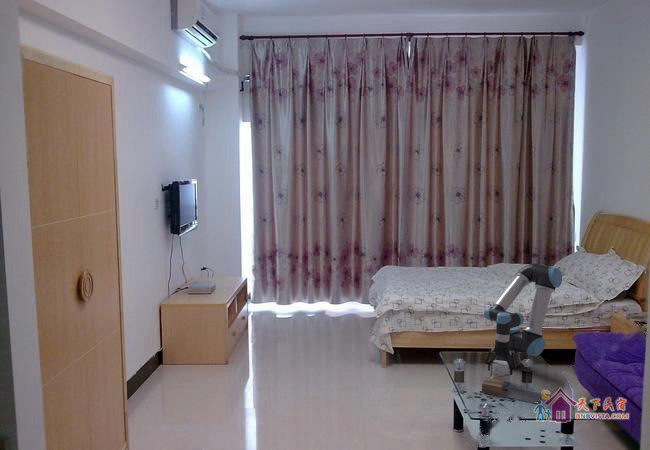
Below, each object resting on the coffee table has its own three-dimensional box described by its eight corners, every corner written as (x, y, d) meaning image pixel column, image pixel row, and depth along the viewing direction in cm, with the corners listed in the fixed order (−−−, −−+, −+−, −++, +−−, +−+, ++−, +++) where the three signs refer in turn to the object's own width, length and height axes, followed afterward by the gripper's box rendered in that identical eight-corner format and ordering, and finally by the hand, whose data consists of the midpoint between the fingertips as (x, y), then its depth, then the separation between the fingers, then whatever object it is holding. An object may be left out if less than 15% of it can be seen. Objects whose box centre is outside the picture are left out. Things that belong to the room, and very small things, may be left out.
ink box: (507, 386, 323) (509, 366, 321) (492, 384, 325) (493, 365, 323) (506, 380, 331) (507, 360, 330) (491, 378, 333) (492, 359, 331)
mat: (509, 387, 322) (509, 386, 322) (541, 394, 314) (541, 393, 314) (504, 397, 310) (504, 396, 310) (537, 404, 302) (537, 403, 302)
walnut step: (485, 385, 324) (486, 377, 323) (504, 389, 319) (504, 380, 319) (481, 392, 315) (482, 383, 314) (500, 396, 311) (501, 387, 310)
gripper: (480, 338, 326) (478, 376, 329) (521, 345, 316) (519, 384, 319) (483, 334, 333) (481, 371, 336) (524, 341, 323) (521, 379, 326)
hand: (499, 378), depth 328 cm, fingers closed on ink box, 10 cm apart
